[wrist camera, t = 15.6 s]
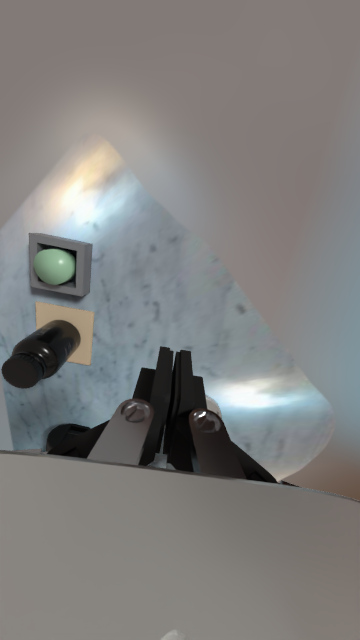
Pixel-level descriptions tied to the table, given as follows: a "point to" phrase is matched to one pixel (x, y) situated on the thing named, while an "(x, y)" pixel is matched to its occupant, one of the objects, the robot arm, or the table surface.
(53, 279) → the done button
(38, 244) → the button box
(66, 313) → the beige square board
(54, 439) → the end cap
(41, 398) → the table surface
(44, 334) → the supplement bottle
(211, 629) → the robot arm
